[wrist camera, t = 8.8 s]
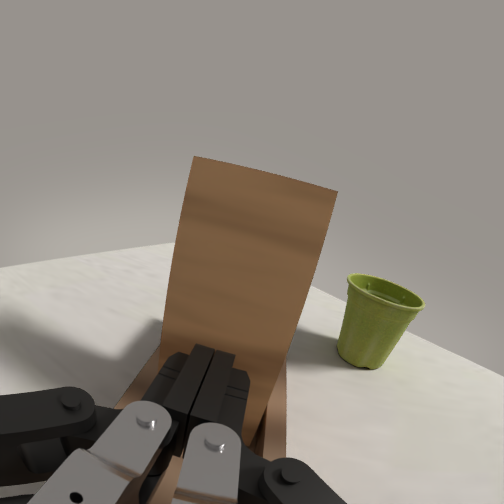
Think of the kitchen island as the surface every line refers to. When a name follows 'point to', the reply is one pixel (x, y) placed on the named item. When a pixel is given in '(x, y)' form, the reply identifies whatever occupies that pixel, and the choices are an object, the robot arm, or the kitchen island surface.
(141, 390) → the chute
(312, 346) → the kitchen island surface
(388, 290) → the plant pot
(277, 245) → the block
